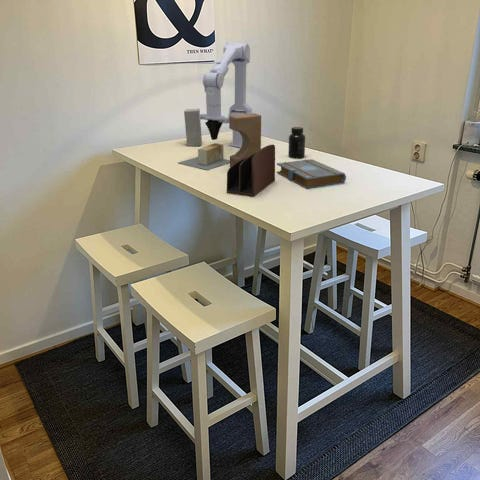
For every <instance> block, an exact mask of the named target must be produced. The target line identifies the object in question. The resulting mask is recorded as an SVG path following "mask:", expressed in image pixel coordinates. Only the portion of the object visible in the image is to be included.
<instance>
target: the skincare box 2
mask: <svg viewBox="0 0 480 480" xmlns="http://www.w3.org/2000/svg"><path fill="white" fill-rule="evenodd" d="M224 153H225V152H224V144H222V143H216V142H214V143H212V144H209V145H206V146H205V145H204V146H203V147H200V148H197V157H198V164H201V165H209V164H212V163H214V162H217V161H219V160H222V159H225V158H224V156H225V155H224Z"/></svg>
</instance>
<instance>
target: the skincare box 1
mask: <svg viewBox="0 0 480 480" xmlns="http://www.w3.org/2000/svg"><path fill="white" fill-rule="evenodd" d="M200 112H201V111H200V108H187V109H184V111H183V115H184V126H185V127H184V128H185V137H186V146H187V147H201V146H202V144H203V138H202V127H201V126H202V125H201V124H202V123H201V120H200V119H199V114H201V113H200Z"/></svg>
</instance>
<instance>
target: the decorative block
mask: <svg viewBox="0 0 480 480" xmlns="http://www.w3.org/2000/svg"><path fill="white" fill-rule="evenodd" d="M228 124H229V125H228V126H229V127H228V128H229V129H230V130H232V131H233V130H235V131H238V132H239V133H240V134H241V136H242V146H241V148H240V147H239V149H238V150H237V152H236V153H233V154H231V155H229V160H230V163H229V168H230V167H231V166H233V165H234V164H235V163H237V162H238V161H240V160H242V159H244V158H247V157H249V156H250V155H252V154H254V153H257V152H258V151H259V150H261V149H262V148H261V147H262V115H260V114H257V113H253V112H252V114H241V115H231V116H229V123H228Z"/></svg>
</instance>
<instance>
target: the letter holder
mask: <svg viewBox="0 0 480 480" xmlns="http://www.w3.org/2000/svg"><path fill="white" fill-rule="evenodd" d="M275 180H276V145H275V144H268V145H267V146H263V147H262V148H261V150H259V151H258V152H257V153H254V154H252V155H250V156H249V157H247V158H244V159H242V160H240V161H238V162H237V163H235V164H234V165H233V166H231V167H230V166H229V168H228V169H227V172H226V194H229V195H236V194H237V195H238V196H245V197H251V198H255V196H256V195H258V194H259V193H261V192H262V191H263V190H265V189H266V188H267V187H268V186H270V185H271V184H273V182H275Z"/></svg>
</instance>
